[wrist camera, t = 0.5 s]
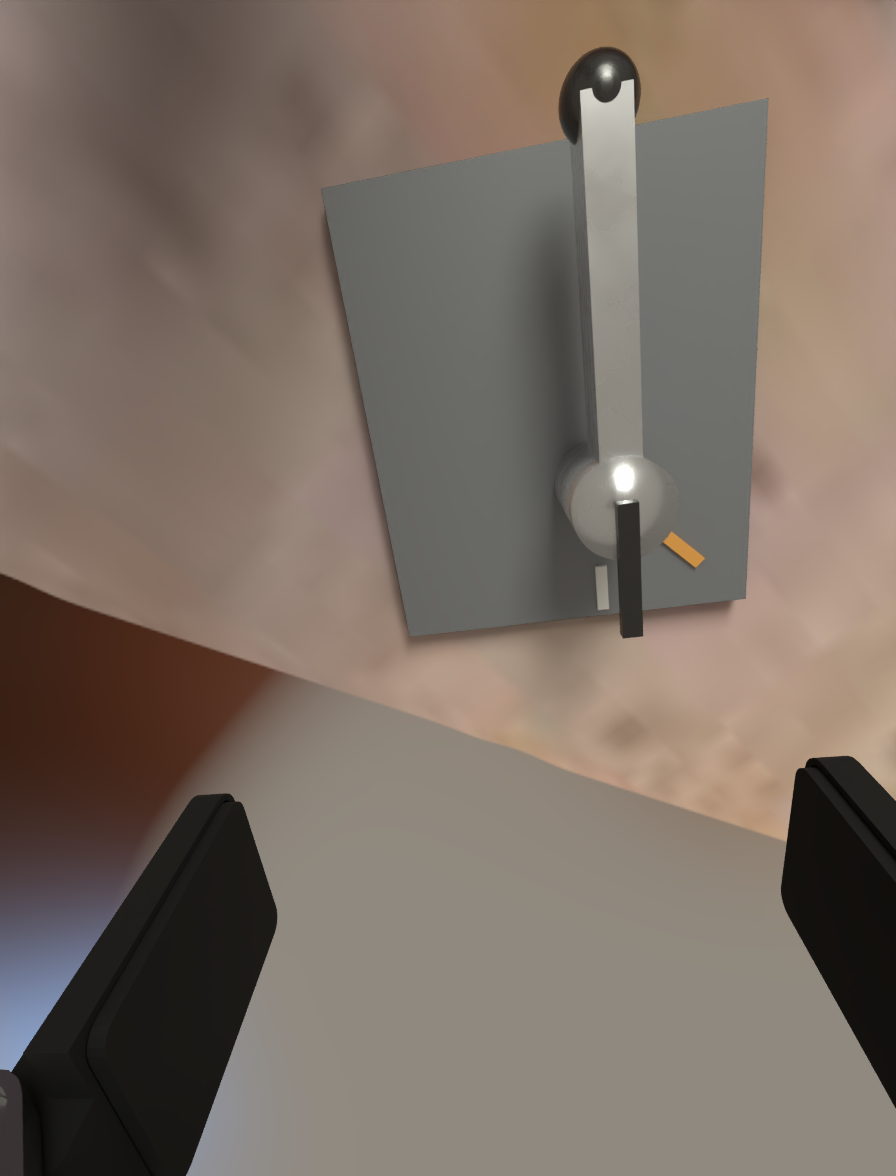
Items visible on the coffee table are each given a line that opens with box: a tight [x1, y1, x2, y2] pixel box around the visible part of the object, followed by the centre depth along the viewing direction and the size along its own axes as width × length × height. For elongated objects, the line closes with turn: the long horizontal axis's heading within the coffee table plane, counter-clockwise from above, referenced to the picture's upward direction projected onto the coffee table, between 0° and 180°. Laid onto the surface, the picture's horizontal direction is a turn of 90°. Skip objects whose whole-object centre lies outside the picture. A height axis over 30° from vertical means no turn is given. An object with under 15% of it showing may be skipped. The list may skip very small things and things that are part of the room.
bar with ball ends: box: [555, 47, 680, 638], centre depth 28 cm, size 25×5×8 cm, turn 9°
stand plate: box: [321, 98, 768, 637], centre depth 33 cm, size 26×22×2 cm
